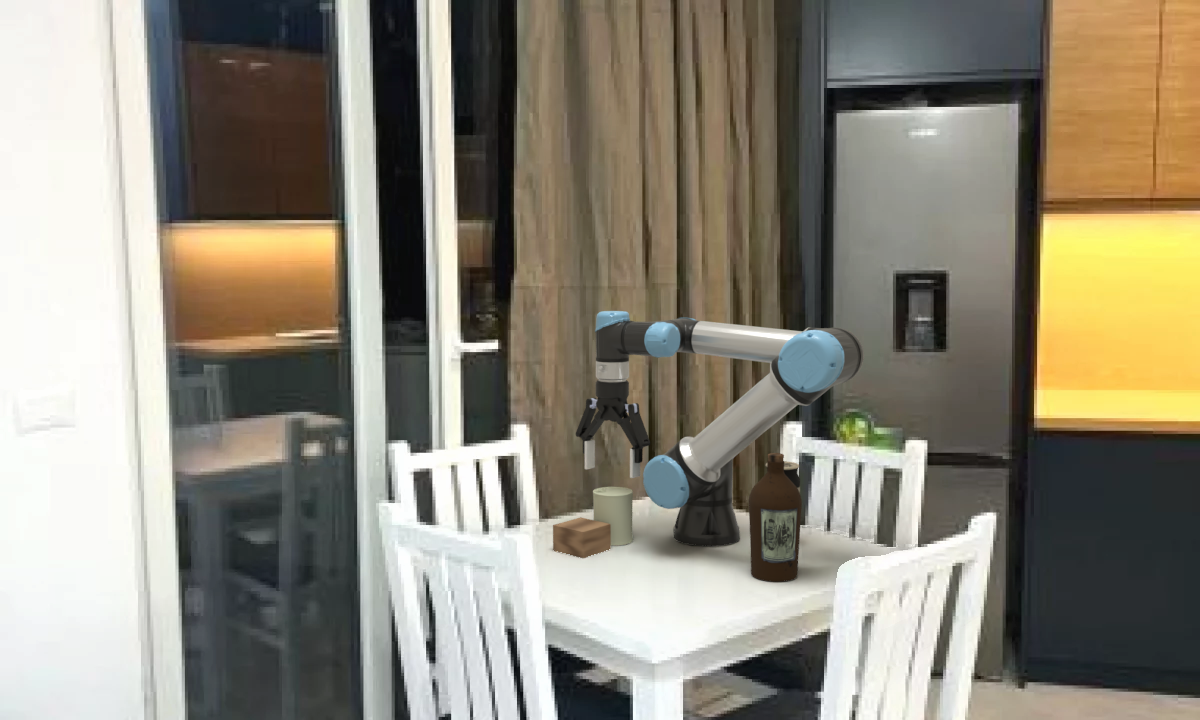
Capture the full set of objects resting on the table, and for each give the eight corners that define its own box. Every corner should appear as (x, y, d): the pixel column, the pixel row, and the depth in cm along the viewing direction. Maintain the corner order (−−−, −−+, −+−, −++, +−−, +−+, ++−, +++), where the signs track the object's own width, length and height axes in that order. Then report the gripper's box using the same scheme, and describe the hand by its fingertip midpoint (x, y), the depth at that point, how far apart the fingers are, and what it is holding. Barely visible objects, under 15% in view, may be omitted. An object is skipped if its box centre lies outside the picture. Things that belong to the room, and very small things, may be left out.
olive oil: (743, 567, 223) (744, 449, 221) (794, 567, 224) (796, 449, 221) (753, 583, 213) (754, 459, 210) (806, 582, 213) (808, 459, 211)
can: (591, 535, 249) (591, 484, 248) (630, 534, 250) (630, 484, 248) (594, 546, 240) (594, 493, 239) (635, 545, 241) (635, 493, 239)
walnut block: (610, 550, 237) (610, 524, 237) (583, 559, 231) (583, 532, 230) (580, 543, 243) (580, 517, 243) (553, 551, 237) (552, 525, 236)
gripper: (560, 376, 246) (560, 467, 249) (644, 386, 230) (644, 483, 232) (582, 373, 252) (582, 462, 254) (666, 382, 236) (665, 477, 238)
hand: (611, 472), depth 243 cm, fingers open, 13 cm apart
